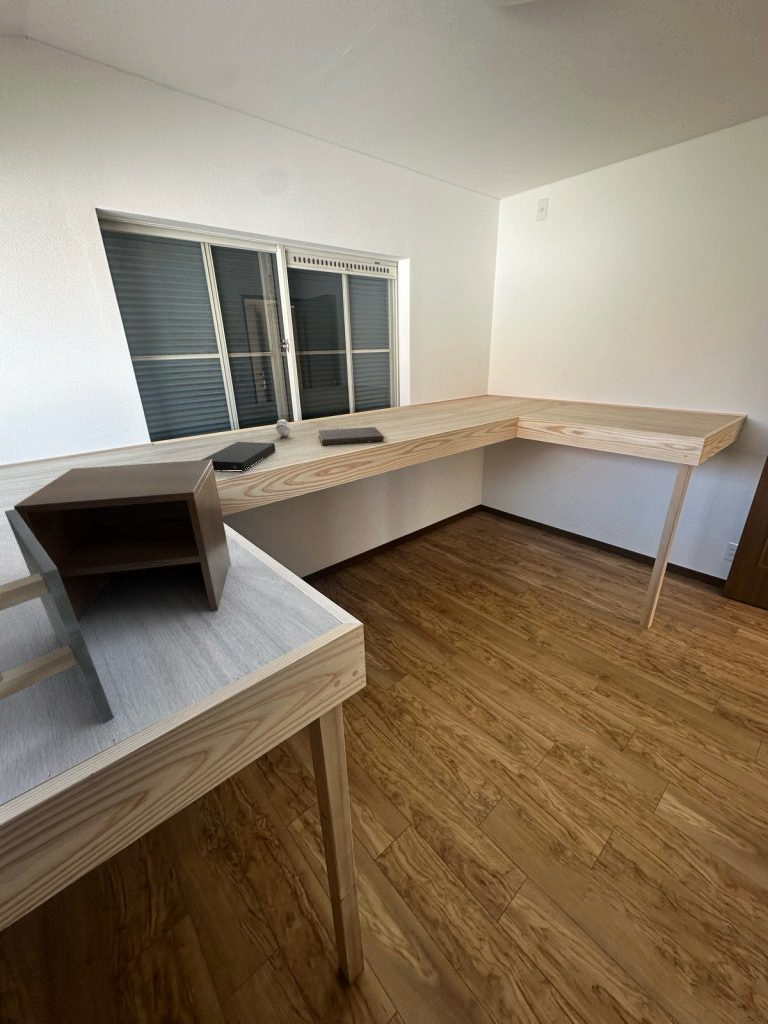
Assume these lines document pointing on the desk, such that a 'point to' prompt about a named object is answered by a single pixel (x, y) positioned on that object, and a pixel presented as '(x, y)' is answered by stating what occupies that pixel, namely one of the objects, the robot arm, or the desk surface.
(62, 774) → the desk surface
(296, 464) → the desk surface
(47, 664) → the door
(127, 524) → the cupboard
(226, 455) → the external hard drive
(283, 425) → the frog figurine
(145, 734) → the desk surface
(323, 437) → the hardcover book
